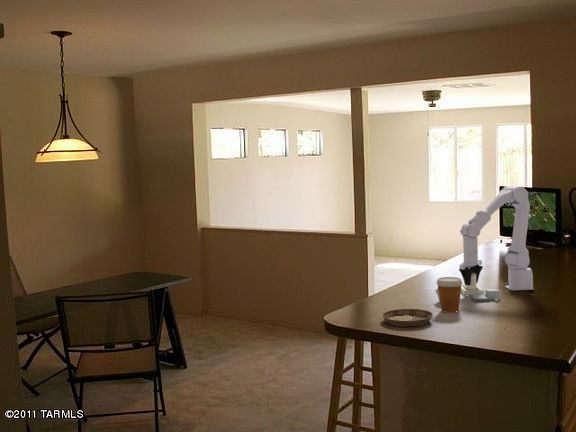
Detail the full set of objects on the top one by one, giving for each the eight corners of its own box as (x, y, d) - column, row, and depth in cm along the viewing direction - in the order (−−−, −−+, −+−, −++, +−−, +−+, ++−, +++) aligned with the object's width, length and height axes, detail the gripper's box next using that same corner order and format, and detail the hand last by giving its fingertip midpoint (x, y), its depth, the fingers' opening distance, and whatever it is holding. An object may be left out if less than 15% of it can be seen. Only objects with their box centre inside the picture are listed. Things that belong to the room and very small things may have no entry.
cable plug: (496, 297, 244) (496, 289, 244) (503, 301, 236) (502, 293, 236) (485, 297, 245) (485, 289, 244) (491, 302, 236) (491, 293, 236)
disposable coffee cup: (445, 314, 221) (444, 282, 220) (432, 309, 230) (431, 278, 229) (468, 311, 224) (467, 280, 223) (454, 306, 233) (453, 275, 232)
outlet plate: (476, 289, 262) (476, 284, 261) (483, 295, 250) (483, 290, 250) (457, 289, 262) (457, 285, 262) (464, 295, 250) (464, 290, 250)
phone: (483, 296, 247) (483, 293, 247) (489, 301, 238) (489, 298, 238) (468, 297, 247) (468, 294, 247) (474, 302, 238) (474, 299, 238)
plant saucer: (372, 324, 214) (371, 315, 214) (401, 314, 226) (401, 306, 226) (414, 332, 201) (413, 323, 201) (442, 321, 214) (442, 312, 213)
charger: (476, 287, 255) (476, 271, 254) (476, 289, 251) (476, 273, 251) (466, 287, 256) (466, 271, 256) (466, 289, 252) (466, 273, 252)
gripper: (470, 254, 245) (470, 287, 246) (488, 250, 254) (488, 282, 256) (454, 253, 250) (455, 285, 251) (473, 249, 260) (473, 280, 261)
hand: (471, 283), depth 254 cm, fingers closed on charger, 5 cm apart
